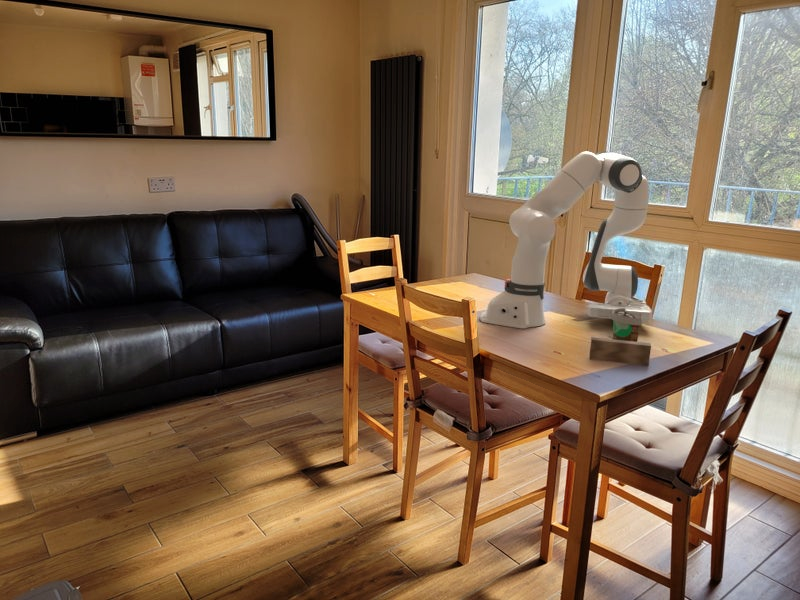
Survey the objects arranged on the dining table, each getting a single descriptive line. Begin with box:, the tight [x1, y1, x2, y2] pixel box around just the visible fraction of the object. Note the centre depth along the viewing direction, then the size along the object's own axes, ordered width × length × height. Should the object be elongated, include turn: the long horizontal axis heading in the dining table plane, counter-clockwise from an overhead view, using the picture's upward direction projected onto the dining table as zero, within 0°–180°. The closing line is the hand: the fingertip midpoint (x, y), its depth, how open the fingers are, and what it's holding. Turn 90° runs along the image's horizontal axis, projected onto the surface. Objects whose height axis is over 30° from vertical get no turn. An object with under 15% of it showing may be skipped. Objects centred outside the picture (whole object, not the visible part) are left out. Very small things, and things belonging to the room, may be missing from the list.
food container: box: [611, 308, 642, 342], centre depth 187 cm, size 12×6×10 cm, turn 4°
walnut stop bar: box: [589, 336, 652, 367], centre depth 172 cm, size 16×2×6 cm, turn 73°
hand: (620, 318), depth 197 cm, fingers closed
